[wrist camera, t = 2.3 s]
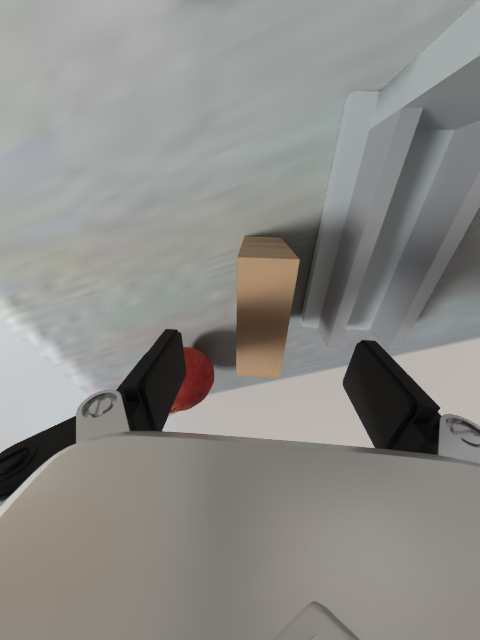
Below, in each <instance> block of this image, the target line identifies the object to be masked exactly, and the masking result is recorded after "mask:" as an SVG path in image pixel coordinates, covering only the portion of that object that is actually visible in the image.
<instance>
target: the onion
mask: <svg viewBox="0 0 480 640" xmlns="http://www.w3.org/2000/svg"><path fill="white" fill-rule="evenodd" d="M183 350H184V357H185V364H186V376H185V379H184V381H183V383H182V386H181V388H180V390H179V393H178V395H177V397H176V399H175V402H174V404H173V406H172V409H171V411H170V413H169V415H171V414H174V413H175V412H178V411H183V410H188V409H190V408H192V407H193V406H195V405H197V404H198V403H200V402H201V401H202V400H203V399H204V398H205V397H206V396H207V394H208V393H209V391H210V389H211V387H212V385H213V382H214V369H213V365H212V363H211V361H210V360H209V359H208V357H207V356H206V355H205V354H203V353H202V352H201V351H199V350H196V349H194V348H188V347H183Z"/></svg>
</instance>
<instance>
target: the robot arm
mask: <svg viewBox="0 0 480 640" xmlns="http://www.w3.org/2000/svg"><path fill="white" fill-rule="evenodd" d="M185 376H186V364H185V357H184V350H183V343H182V336H181V333H180V332H178V331H177V330H173V329H166V330H165V331H164V332H163V333H162V335H161V336H160V337H159V338H158V340H157V341H156V342H155V343H154V345H153V346H152V347H151V348H150V350H149V351H148V352H147V353H146V354H145V355H144V356H143V357H142V359H141V360H140V361H139V362H138V364H137V365H136V366H135V367H134V369H133V370H132V371H131V372H130V374H129V375H128V376H127V377H126V379H125V380H124V381H123V382H122V384H121V385H120V386H119V387H118V389H117V390H104V391H100V392H97V393H95V394H93V395H91V396H90V397H88V398H87V399H86V400H85V401H84V402H83V403H81V405H80V406H79V408H78V409H77V413H76V416H75V417H72V418H70V419H68V420H66V421H64V422H62V423H60V424H57V425H55V426H53V427H51V428H49V429H47V430H45V431H42V432H40V433H38V434H36V435H34V436H32V437H30V438H27V439H26V440H23V441H21V442H19V443H17V444H15V445H13V446H11V447H9V448H7V449H6V450H4V451H3V452H1V453H0V640H480V426H478V425H477V424H475V423H473V422H471V421H469V420H467V419H465V418H462V417H460V416H456V415H452V414H445V415H443V416H441V415H440V414H439V413H438V410H439V409H440V407H439V406H438V405H437V404H436V403H435V402H434V401H433V400H432V399H431V398H430V397H429V396H428V395H427V394H426V393H425V392H424V391H423V389H421V387H420V386H419V385H418V384H417V383H416V382H415V381H414V380H413V379H412V378H411V377H410V376H409V375H408V374H407V373H406V372H405V371H404V370H403V369H402V368H401V367H400V366H399V365H398V364H397V363H396V362H395V361H394V360H393V358H392V357H391V356H390V355H389V354H388V353H387V352H386V351H385V350H384V349H383V348H382V347H381V346H380V345H379V344H378V343H377V342H376V341H369V340H362V341H361V342H360V343H357V345H356V347H355V350H354V353H353V355H352V358H351V361H350V363H349V366H348V369H347V371H346V374H345V377H344V379H343V387H344V389H345V391H346V393H347V394H348V396H349V399H350V400H351V402H352V404H353V406H354V408H355V410H356V412H357V414H358V416H359V418H360V420H361V422H362V424H363V425H364V427H365V429H366V431H367V433H368V435H369V437H370V439H371V441H372V442H373V445H374V447H375V448H365V447H354V446H343V445H331V444H319V443H308V442H295V441H283V440H271V439H258V438H246V437H234V436H220V435H208V434H195V433H179V432H162V429H163V427H164V424H165V422H166V420H167V418H168V416H169V413H170V411H171V409H172V406H173V404H174V402H175V399H176V397H177V395H178V393H179V390H180V388H181V386H182V383H183V381H184V379H185Z"/></svg>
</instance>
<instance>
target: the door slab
mask: <svg viewBox="0 0 480 640" xmlns="http://www.w3.org/2000/svg"><path fill="white" fill-rule="evenodd" d="M299 262H300V259H299V258H298V257H297V256H296V254H295V253H294V252H293V251H292V250H291V249H290V248H289V247H288V245H287V244H286V243H285V242H284V241H283V240H282V239H281V237H252V236H245V237H244V240H243V243H242V246H241V249H240V252H239V255H238V271H237V339H236V375H238V376H254V377H270V378H280V372H281V366H282V360H283V354H284V349H285V343H286V337H287V331H288V325H289V320H290V314H291V308H292V302H293V296H294V291H295V285H296V279H297V273H298V267H299Z"/></svg>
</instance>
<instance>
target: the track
mask: <svg viewBox="0 0 480 640" xmlns="http://www.w3.org/2000/svg"><path fill="white" fill-rule="evenodd" d="M479 207H480V0H478V1H477V2H476V3H475V4H474V5H473V6H472V7H470V8H469V9H468V10H467V11H466V12H465V13H464V14H463V15H462V16H461V17H460V18H459V19H457V20H456V21H455V22H454V23H453V24H452V25H451V26H450V27H449V28H448V29H447V30H446V31H444V32H443V33H442V34H441V35H440V36H439V37H438V38H437V39H436V40H435V41H434V42H433V43H431V44H430V45H429V46H428V47H427V48H426V49H425V50H424V51H423V52H422V53H421V54H420V55H418V56H417V57H416V58H415V59H414V60H413V61H412V62H411V63H410V64H409V65H408V66H407V67H405V68H404V69H403V70H402V71H401V72H400V73H399V74H398V75H397V76H396V77H395V78H393V79H392V80H391V81H390V82H389V83H388V84H387V85H386V86H385V87H384V88H383V89H382V90H380V91H353V92H352V93H351V94H350V95H349V96H348V97H347V99H346V100H345V105H344V110H343V115H342V120H341V125H340V129H339V134H338V139H337V144H336V149H335V154H334V159H333V163H332V168H331V173H330V178H329V183H328V188H327V193H326V198H325V202H324V207H323V212H322V217H321V222H320V227H319V232H318V236H317V241H316V246H315V251H314V256H313V261H312V266H311V271H310V275H309V280H308V285H307V290H306V295H305V300H304V305H303V309H302V314H301V319H300V323H301V326H302V327H314V328H318V330H319V332H320V333H321V335H322V337H323V339H324V341H325V343H326V345H327V346H328V347H340V344H341V341H342V338H343V335H344V332H345V329H354V330H370V331H371V332H372V334H373V335H374V336H375V337H376V338H377V339H378V340H379V341H380V342H381V343H382V344H383V345H384V346H385V347H386V348H387V349H388V350H401V348H402V346H403V344H404V342H405V341H406V339H407V337H408V335H409V333H410V332H411V330H412V328H413V326H414V324H415V323H416V321H417V319H418V317H419V315H420V314H421V312H422V310H423V308H424V306H425V305H426V303H427V301H428V299H429V297H430V296H431V294H432V292H433V290H434V288H435V287H436V285H437V283H438V281H439V279H440V278H441V276H442V274H443V272H444V270H445V269H446V267H447V265H448V263H449V261H450V260H451V258H452V256H453V254H454V252H455V251H456V249H457V247H458V245H459V243H460V242H461V240H462V238H463V236H464V234H465V233H466V231H467V229H468V227H469V225H470V224H471V222H472V220H473V218H474V216H475V215H476V213H477V211H478V209H479Z"/></svg>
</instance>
